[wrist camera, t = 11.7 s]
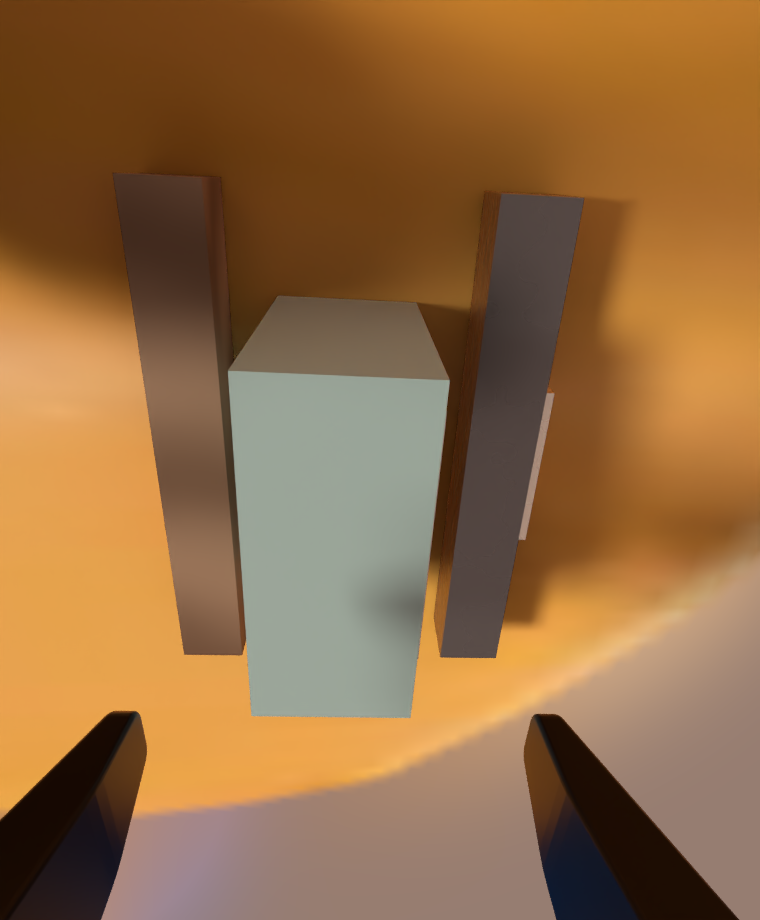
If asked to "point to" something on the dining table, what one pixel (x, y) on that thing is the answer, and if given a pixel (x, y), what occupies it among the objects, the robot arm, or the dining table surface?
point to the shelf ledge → (188, 391)
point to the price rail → (502, 410)
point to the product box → (336, 502)
